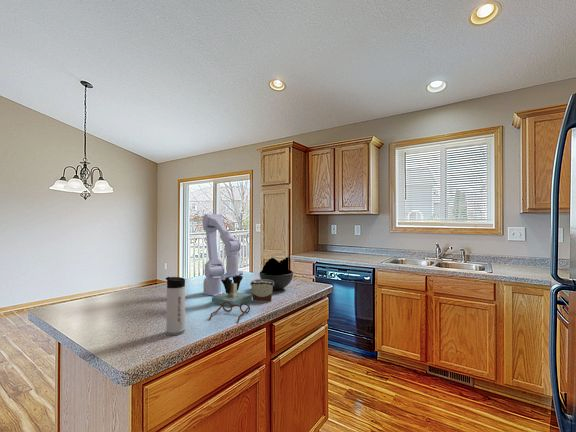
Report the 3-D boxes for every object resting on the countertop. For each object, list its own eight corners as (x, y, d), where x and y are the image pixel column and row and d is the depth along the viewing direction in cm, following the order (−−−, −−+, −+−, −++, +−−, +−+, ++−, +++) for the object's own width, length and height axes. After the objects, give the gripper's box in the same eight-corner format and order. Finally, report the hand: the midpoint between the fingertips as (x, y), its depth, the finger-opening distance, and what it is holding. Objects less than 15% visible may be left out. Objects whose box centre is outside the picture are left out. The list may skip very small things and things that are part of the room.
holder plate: (211, 302, 141) (211, 297, 141) (230, 296, 153) (230, 291, 153) (233, 306, 134) (233, 301, 134) (251, 299, 146) (251, 294, 146)
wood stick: (227, 301, 144) (227, 283, 144) (230, 300, 146) (230, 282, 146) (233, 302, 142) (233, 284, 142) (236, 301, 144) (236, 283, 144)
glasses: (250, 314, 125) (250, 302, 125) (237, 324, 113) (237, 312, 113) (223, 311, 129) (223, 300, 129) (207, 321, 116) (208, 309, 116)
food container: (275, 298, 149) (276, 279, 149) (274, 301, 143) (274, 281, 143) (252, 297, 150) (252, 278, 150) (249, 301, 144) (250, 281, 144)
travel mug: (168, 329, 107) (169, 275, 107) (186, 328, 107) (187, 275, 108) (162, 336, 101) (163, 279, 101) (182, 335, 101) (182, 278, 101)
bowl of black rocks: (255, 292, 160) (255, 259, 161) (264, 284, 180) (264, 254, 180) (290, 294, 157) (290, 260, 157) (295, 286, 177) (295, 255, 177)
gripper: (228, 267, 136) (228, 296, 136) (247, 263, 148) (247, 289, 148) (217, 266, 139) (217, 294, 139) (237, 262, 152) (236, 288, 152)
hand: (232, 291), depth 144 cm, fingers open, 6 cm apart
